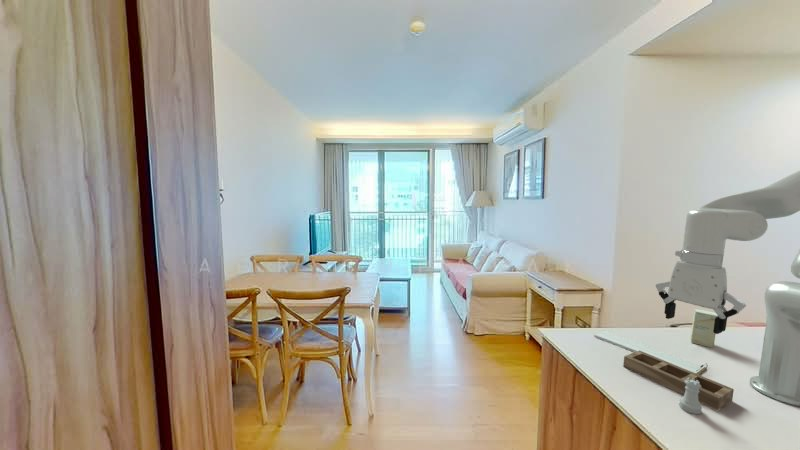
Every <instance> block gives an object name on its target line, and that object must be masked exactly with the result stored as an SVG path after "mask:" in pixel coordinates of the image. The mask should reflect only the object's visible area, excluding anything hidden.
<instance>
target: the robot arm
mask: <svg viewBox="0 0 800 450" xmlns="http://www.w3.org/2000/svg"><path fill="white" fill-rule="evenodd" d="M798 212H800V170H797V171H795V172H794V173H791V174H789V175H787V176H785V177H783V178H781V179H779V180H777V181H775V182H774V183H771V184H769V185H767V186H765V187H763V188H762V187H761V188H758V189H752V190H750V191H749V190H748V191H745V192H744V191H743V192H741V193H735V194H732V195H727V196H724V197H721V198H718V199H713V200H712V201H710V202H708V203H705V204H704V205H702V206H700V207H698V208H697V209H690V210H689V211H687V214H686V219H685V226H684V233H683V234H684V235H683V242H682V243H683V244H682V249H681V250H676V251H675V253H674V255H675V257H679V258H680V260H677V261H676V262H675V264H674V266H673V270H672V273H671V277H670V280H669V281H665V282H662V283H661V282H660V283H656V284H655V288H656V289H657V290H656V291H657V292H658V295H659V297H660V298H661V299H662V300H663V303H664V315H665V319H667V320H669V319H670V320H671V319H673V318H675V314H676V307H677V304H676V301H679V302H682V303H686V304H690V305H694V306H698V307H701V308H704V309H705V308H706V309H711V310H713V312H716V314H717V315H718V317H716V318H715V323H714V330H713V332H714V333H715V335H719V334H721V333H723V332H725V331H726V329H727V322H728V318H730V317H732V316H735V315H737V314H739V313H740V312H742V310H744V309H745V308H746V307H747V304H746V303H744V302H743V301H741V300H740V299H738V298H737V297H735V296H733V295H732V294H731V293H728V280H727V270H726V267H724V266H723V262H724V256H725V255H724V254H725V248H726V247H725V246H726V242H727V240H732V241H738V242H750V241H754V240H757V239H759V238H761V237H762V236H764V234H766V232H767V230H768V227H769V226H768V220H770V219H778V218H785V217H790V216H792V215H794V214H796V213H798ZM790 272H791V274H792V275H793V276H794V277H796V278H797V279H800V249H799V250H798V251H797V253H796V255H795V257H794V259H793V260H792V262H791V265H790ZM665 288H668V289H667V290H668V291H666V289H665ZM727 302H728V303H729V304H732V305H733V306H732V308H731V309H729V310H727V309H726V307H725V305H726V303H727ZM764 305H765V314H766V316H765V319H766V320H765V327H764V328H765V329H764V335H763V343H762V349H761V350H762V351H761V357H760V363H759V371H758V376H757V375H756V376H751V377H750V378H749V385H750V386H751V387H752V388H754V390H756V391H757V392H759V393H761V394H763V395H764V396H767V397H769V398H772V399H774V400H776V401H779V402H782V403H785V404H789V405H792V406H798V407H800V282H797V281H786V280H783V281H775V282H773V283H770V284H769V285H768V286H767V288H766V289H765V291H764Z"/></svg>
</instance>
